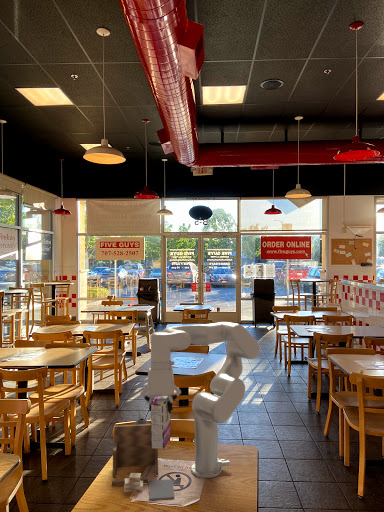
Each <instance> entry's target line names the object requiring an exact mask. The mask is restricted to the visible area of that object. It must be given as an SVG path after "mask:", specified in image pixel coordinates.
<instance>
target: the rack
mask: <svg viewBox="0 0 384 512" xmlns="http://www.w3.org/2000/svg"><path fill="white" fill-rule="evenodd" d="M148 466H154V476H155V477H156V475H158V476H159V449H152V441H151V423H148V424H140V425H134V424H126V425H125V424H123V425H121V424H120V425H114V442H113V448H112V479H114V480H111V487H116V486H117V487H118V486H124V483H125V479H119V480H118V479H117V473H118V468H131V467H132V468H134V467H148ZM115 479H117V480H115ZM140 481H143V485H145V483H148V484H149V478H148V477H146V478H141V479H140Z"/></svg>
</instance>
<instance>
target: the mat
mask: <svg viewBox="0 0 384 512" xmlns="http://www.w3.org/2000/svg"><path fill="white" fill-rule="evenodd" d="M148 484H149V487H148V488H149V489H150V490H149V501H158V500H159V499H162V500H173V499H175V491H174V490H175V488H174V482H173V479H172V478H170V479H156V480H155V479H154V480H148ZM159 501H160V500H159Z"/></svg>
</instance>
